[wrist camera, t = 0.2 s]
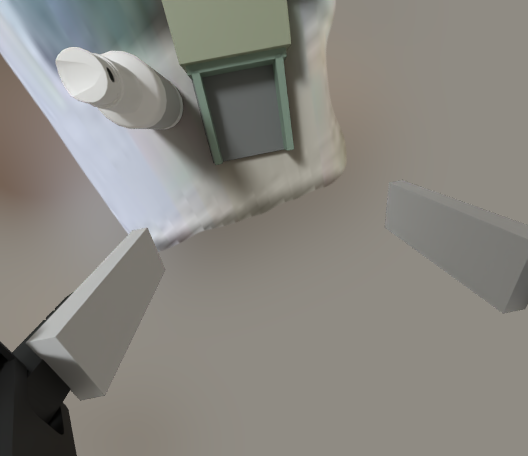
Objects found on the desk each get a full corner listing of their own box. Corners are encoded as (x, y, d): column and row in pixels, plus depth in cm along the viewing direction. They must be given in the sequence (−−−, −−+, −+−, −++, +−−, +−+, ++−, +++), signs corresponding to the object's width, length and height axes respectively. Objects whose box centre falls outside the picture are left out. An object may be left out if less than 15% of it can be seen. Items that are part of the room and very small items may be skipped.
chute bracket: (169, 8, 29) (158, -13, 24) (276, -11, 29) (283, -35, 25) (211, 163, 37) (208, 167, 32) (294, 146, 37) (302, 148, 33)
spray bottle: (189, 125, 34) (147, 119, 18) (144, 133, 34) (59, 135, 17) (175, 72, 31) (108, 6, 15) (125, 80, 31) (2, 23, 15)
